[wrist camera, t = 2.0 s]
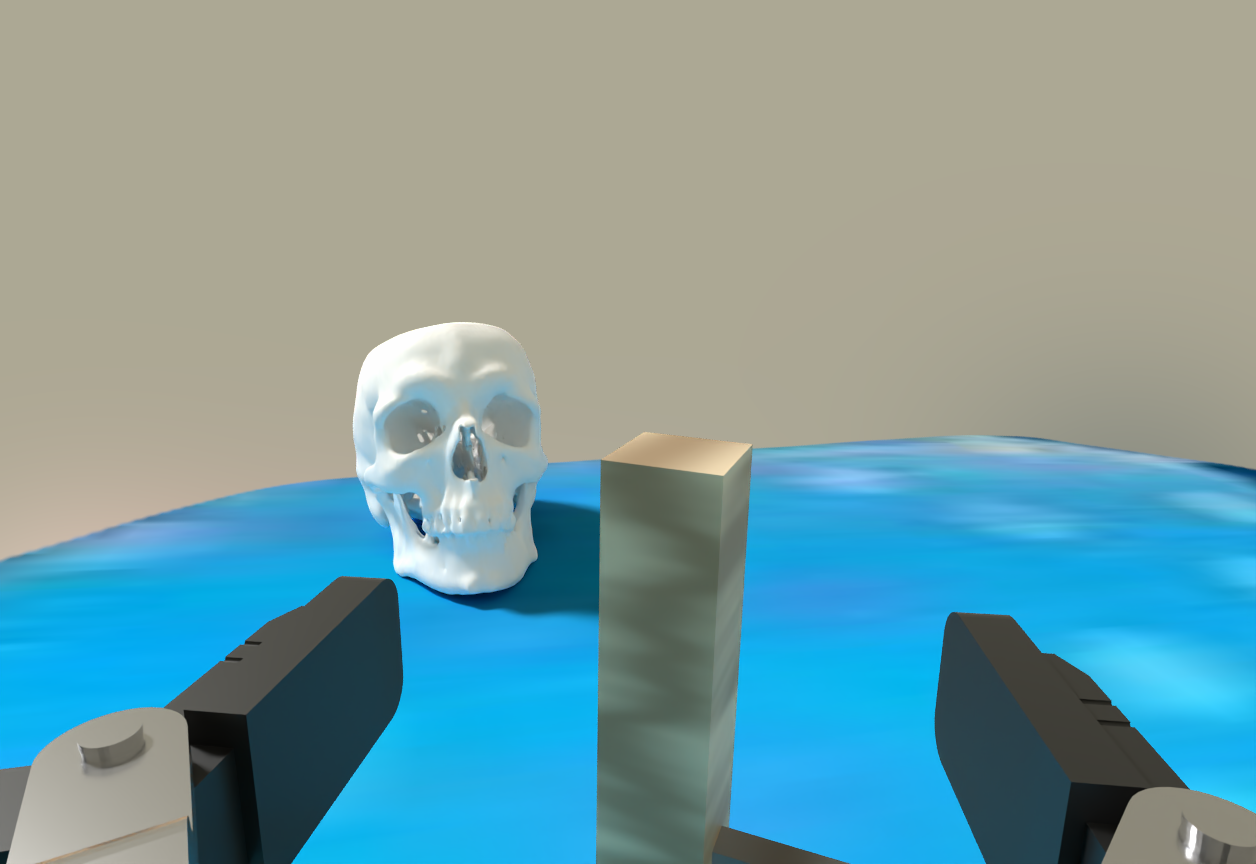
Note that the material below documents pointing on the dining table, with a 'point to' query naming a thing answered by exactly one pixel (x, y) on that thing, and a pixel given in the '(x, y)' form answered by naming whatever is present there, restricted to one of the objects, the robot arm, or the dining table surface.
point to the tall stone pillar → (673, 654)
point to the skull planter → (452, 454)
